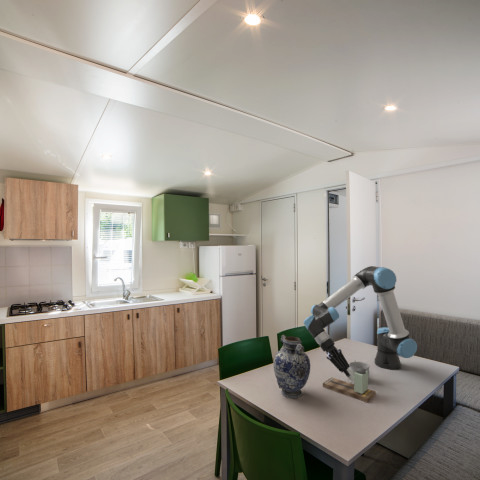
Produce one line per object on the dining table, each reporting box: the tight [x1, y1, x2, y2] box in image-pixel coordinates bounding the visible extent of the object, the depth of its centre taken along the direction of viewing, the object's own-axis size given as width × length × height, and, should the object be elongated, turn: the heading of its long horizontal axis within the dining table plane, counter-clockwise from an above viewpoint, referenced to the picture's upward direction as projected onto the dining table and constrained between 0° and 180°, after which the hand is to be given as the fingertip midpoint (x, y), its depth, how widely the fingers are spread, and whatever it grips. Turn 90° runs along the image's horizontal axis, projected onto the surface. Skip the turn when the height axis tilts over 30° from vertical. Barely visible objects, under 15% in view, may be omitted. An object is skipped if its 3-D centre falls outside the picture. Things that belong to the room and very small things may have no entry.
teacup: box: [348, 360, 370, 378], centre depth 179 cm, size 14×11×8 cm
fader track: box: [322, 377, 377, 403], centre depth 163 cm, size 24×10×2 cm, turn 46°
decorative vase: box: [273, 334, 311, 399], centre depth 161 cm, size 21×19×28 cm
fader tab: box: [353, 367, 369, 394], centre depth 158 cm, size 4×7×11 cm, turn 136°
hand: (354, 381), depth 160 cm, fingers closed
